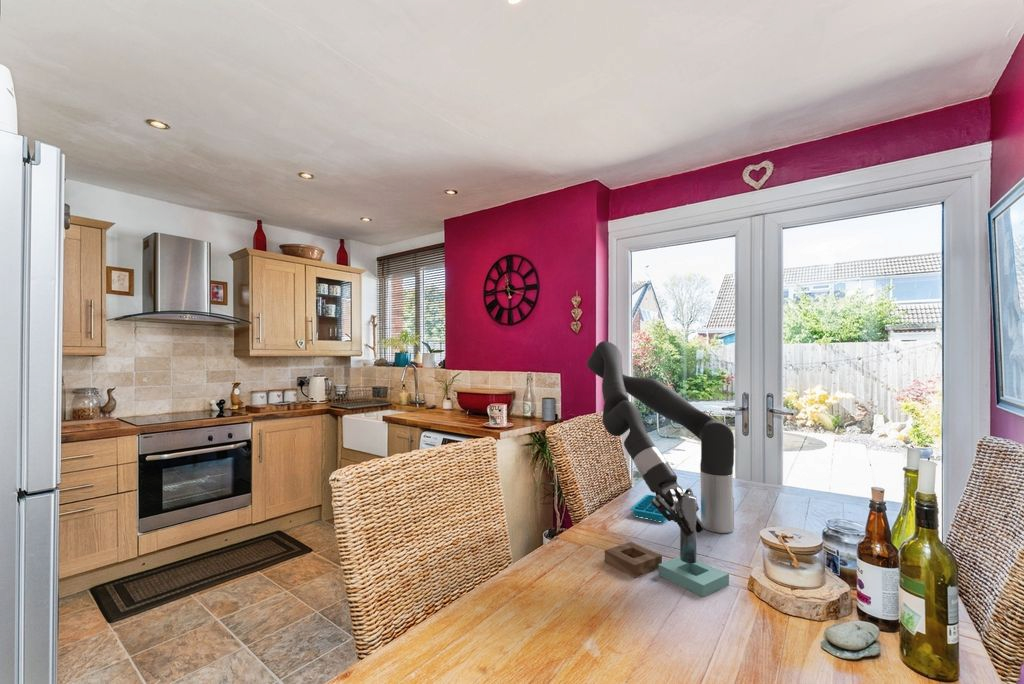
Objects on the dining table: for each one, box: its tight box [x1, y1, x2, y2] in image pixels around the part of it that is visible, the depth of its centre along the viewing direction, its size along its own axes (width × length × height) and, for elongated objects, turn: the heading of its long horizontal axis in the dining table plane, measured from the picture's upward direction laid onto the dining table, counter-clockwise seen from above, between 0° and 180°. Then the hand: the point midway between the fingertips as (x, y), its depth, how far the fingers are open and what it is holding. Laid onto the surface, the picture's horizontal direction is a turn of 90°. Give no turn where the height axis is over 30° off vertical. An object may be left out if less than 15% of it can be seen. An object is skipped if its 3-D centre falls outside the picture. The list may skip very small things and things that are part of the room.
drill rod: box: [679, 494, 698, 563], centre depth 107 cm, size 4×4×15 cm
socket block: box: [604, 541, 663, 579], centre depth 113 cm, size 10×10×3 cm
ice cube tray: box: [630, 494, 670, 523], centre depth 153 cm, size 12×20×3 cm, turn 147°
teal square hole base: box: [657, 555, 730, 598], centre depth 106 cm, size 10×12×2 cm
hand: (695, 532), depth 105 cm, fingers closed on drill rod, 3 cm apart
